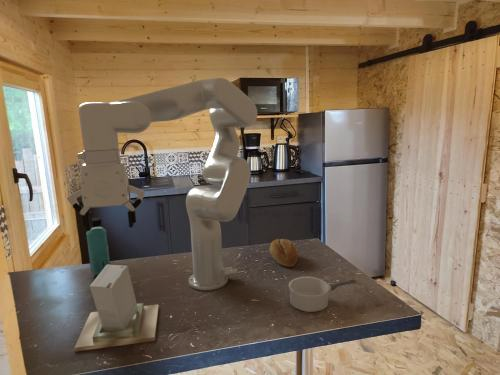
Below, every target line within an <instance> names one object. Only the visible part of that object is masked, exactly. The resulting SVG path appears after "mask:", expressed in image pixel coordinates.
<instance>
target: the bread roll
mask: <svg viewBox="0 0 500 375" xmlns="http://www.w3.org/2000/svg"><path fill="white" fill-rule="evenodd" d="M268 251H269V253H270V255H271V256H272V258H273V259H274V260H275V261H276V262H277V263H278V264H279V265H281V266H284V267H290V268H291V267H295V265H296V263H297V261H298V258H299V252H298V250H297V247H296V245H294V243H293V242H292V241H291V240H290V239H286V238H281V239H280V238H277V239H274V240H272V241H271V243H270V246H269V249H268Z"/></svg>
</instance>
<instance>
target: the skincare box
mask: <svg viewBox="0 0 500 375" xmlns="http://www.w3.org/2000/svg"><path fill="white" fill-rule="evenodd" d="M131 278H132V277H131V275H130V271H129V266H128V265H120V264H117V265H116V264H111V265H109V264H107V265H106V266H105V267H104V269H103V270H102V271H101V272H100V274H97V276H96V277H95V278H94V280H93V281H92V282H91V283H90V285H89V289H90V292H91V296H92V298H93V301H94V304H95V308H96V312H98V315H99V318H100V321H101V324H102V328H103V330H104V331H121V330H126V329H127V327H128V325H129V324H130V322H131V320H132V319H133V317H134V315H135V313H136V311H137V310H138V306H137V304H138V303H137V299H136V296H135V290H134V287H133V282H132V279H131Z"/></svg>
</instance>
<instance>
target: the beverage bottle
mask: <svg viewBox="0 0 500 375" xmlns="http://www.w3.org/2000/svg"><path fill="white" fill-rule="evenodd" d="M92 223H93V227H92V229H91V230H90V231H87V230H86V233H85V235H86V242H87V248H88V259H89V268H90V272H91V273H92V274H93V275H99V274H100V272H101V271H102V270H103V269H104V267H105V266H106V265H107V264H109V265H112V264H111V261H110V260H111V257H110V254H109V253H110V251H109V244H108V243H109V242H108V241H109V240H108V237H107V229H105V228H104V227H102V225H103V222H102V219H101V217H94V218H93V217H92Z"/></svg>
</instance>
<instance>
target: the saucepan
mask: <svg viewBox="0 0 500 375" xmlns="http://www.w3.org/2000/svg"><path fill="white" fill-rule="evenodd" d="M356 283H357V281H356V279H354V278H353V279H346V280H342V281H341V280H340V281H337V282H333V283H328V282H327V281H325V280H323V279H321V278H318V277H314V276H299V277H296V278H293V279H291V280H290V281H289V282H288V289H289V302H290V304H291V305H292V307H294V308H295V309H297V310H300V311H303V312H307V313H313V312H319V311H323V310H324V309H325V308H327V307H328V306H329V292H330V291H332V292H333V291H335V289H336V288H338V287H341V286H345V285H350V284H356Z"/></svg>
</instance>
